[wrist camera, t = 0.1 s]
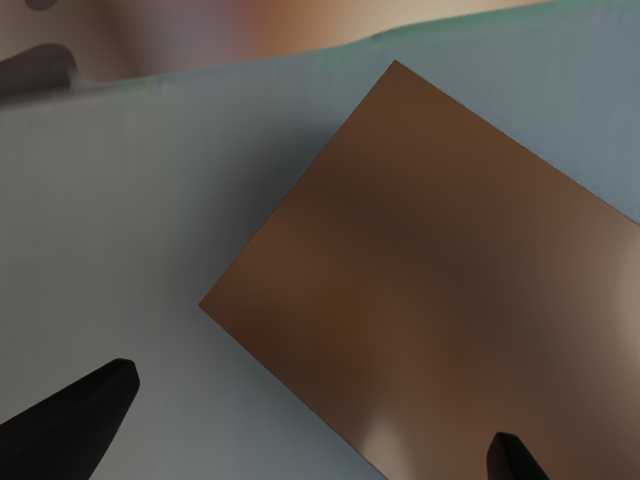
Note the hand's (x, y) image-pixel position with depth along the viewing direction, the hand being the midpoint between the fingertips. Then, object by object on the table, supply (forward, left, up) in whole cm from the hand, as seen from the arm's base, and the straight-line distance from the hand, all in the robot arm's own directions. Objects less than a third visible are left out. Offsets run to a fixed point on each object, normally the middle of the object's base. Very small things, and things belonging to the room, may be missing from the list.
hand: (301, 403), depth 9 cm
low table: (-2, -6, -15) cm, 16 cm away
